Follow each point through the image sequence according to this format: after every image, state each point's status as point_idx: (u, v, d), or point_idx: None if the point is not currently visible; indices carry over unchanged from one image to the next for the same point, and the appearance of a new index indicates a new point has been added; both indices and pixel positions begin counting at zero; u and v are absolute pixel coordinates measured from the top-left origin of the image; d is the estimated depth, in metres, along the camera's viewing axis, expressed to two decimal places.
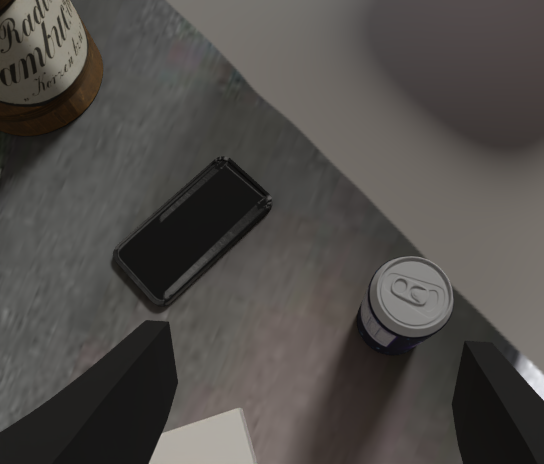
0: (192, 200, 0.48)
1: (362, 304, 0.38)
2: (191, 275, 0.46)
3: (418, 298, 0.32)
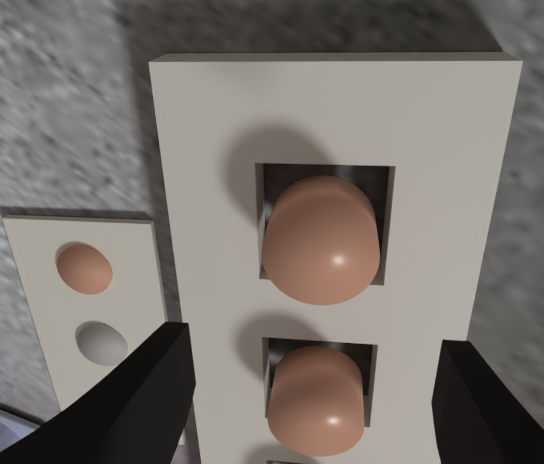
0: None
1: None
2: None
3: None
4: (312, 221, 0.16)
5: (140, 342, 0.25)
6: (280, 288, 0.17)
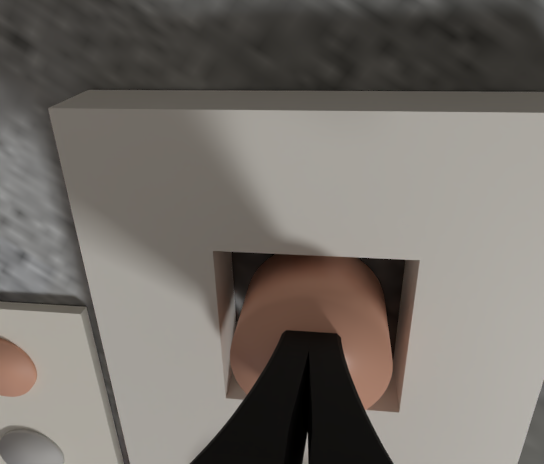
0: None
1: None
2: None
3: None
4: (299, 321, 0.12)
5: (79, 451, 0.19)
6: None
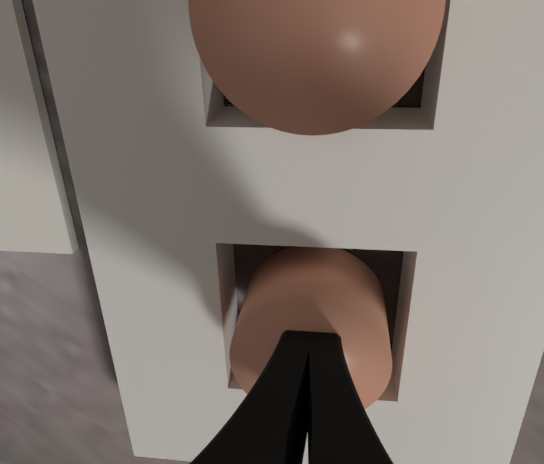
0: None
1: None
2: None
3: None
4: None
5: None
6: None
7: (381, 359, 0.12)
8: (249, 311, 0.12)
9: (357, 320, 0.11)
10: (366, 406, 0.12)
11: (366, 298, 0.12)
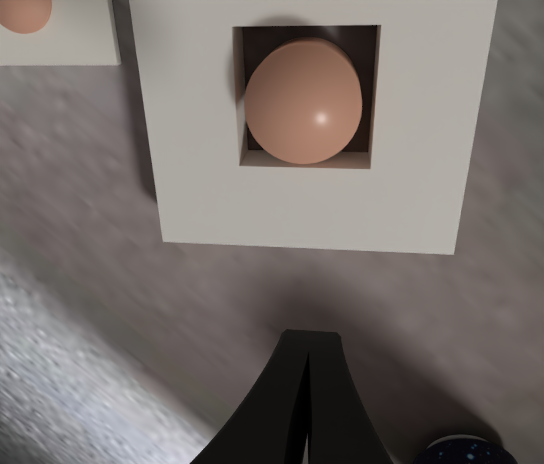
0: None
1: None
2: None
3: None
4: None
5: None
6: None
7: (354, 99, 0.16)
8: (259, 65, 0.16)
9: (336, 64, 0.16)
10: (344, 144, 0.17)
11: (343, 58, 0.17)
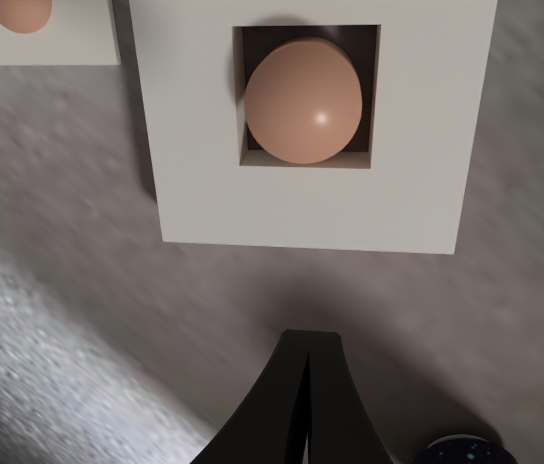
0: None
1: None
2: None
3: None
4: None
5: None
6: None
7: (354, 99, 0.16)
8: None
9: (336, 64, 0.16)
10: (344, 144, 0.17)
11: (344, 58, 0.17)
